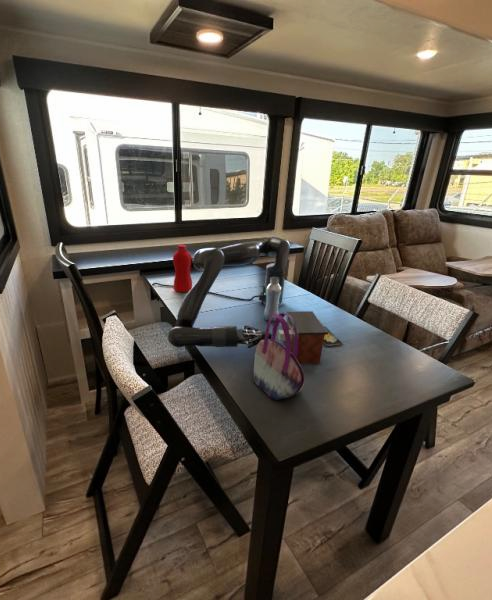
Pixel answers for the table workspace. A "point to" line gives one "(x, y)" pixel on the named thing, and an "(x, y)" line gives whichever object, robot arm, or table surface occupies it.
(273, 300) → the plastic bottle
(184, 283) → the water bottle
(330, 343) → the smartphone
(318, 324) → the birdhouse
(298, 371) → the handbag
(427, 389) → the table surface
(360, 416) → the table surface
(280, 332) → the piano key
